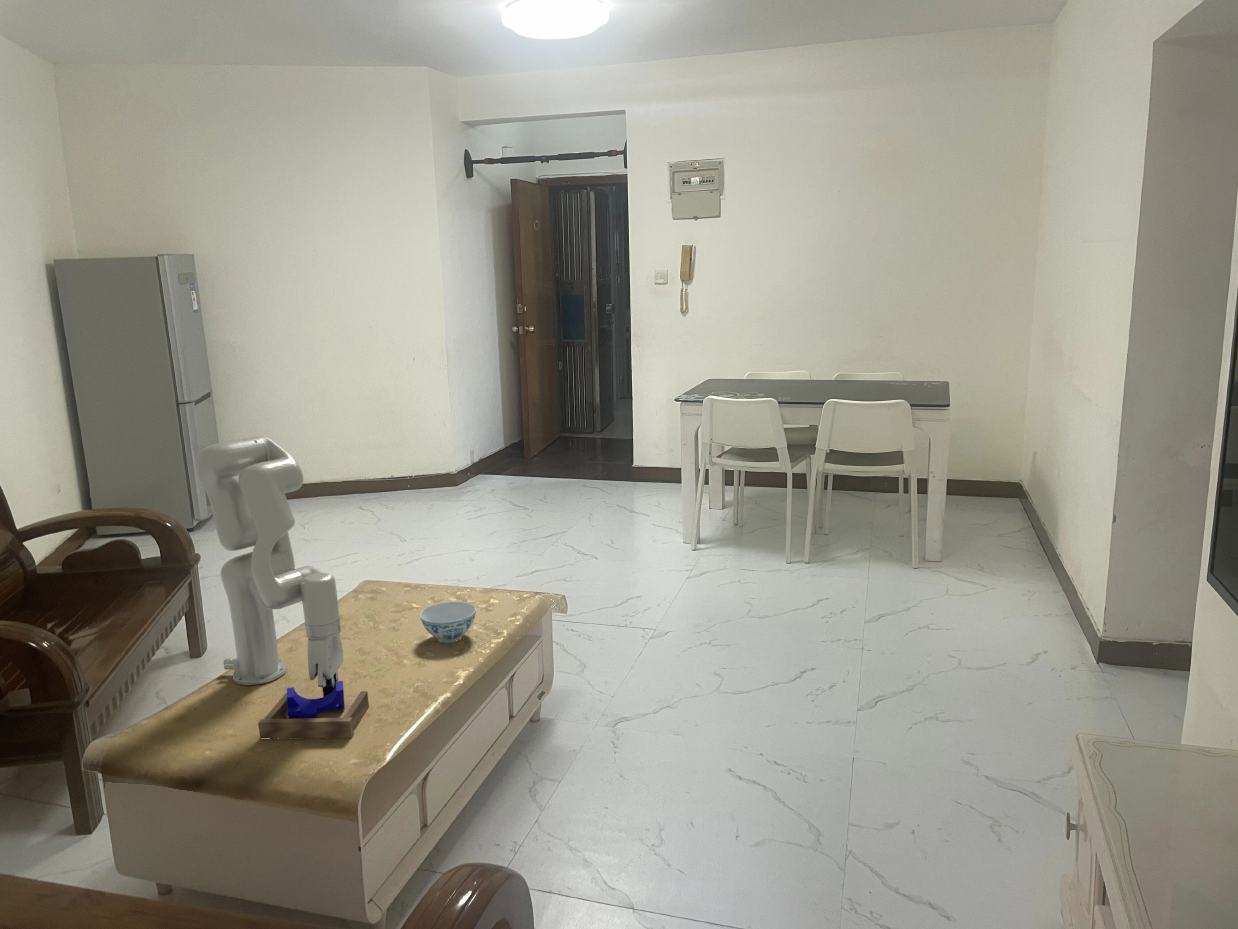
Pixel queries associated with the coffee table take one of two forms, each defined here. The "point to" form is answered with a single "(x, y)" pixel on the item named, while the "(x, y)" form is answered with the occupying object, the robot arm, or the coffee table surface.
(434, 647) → the coffee table surface
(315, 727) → the dock bay
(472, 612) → the chinaware
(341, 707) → the cable clip
